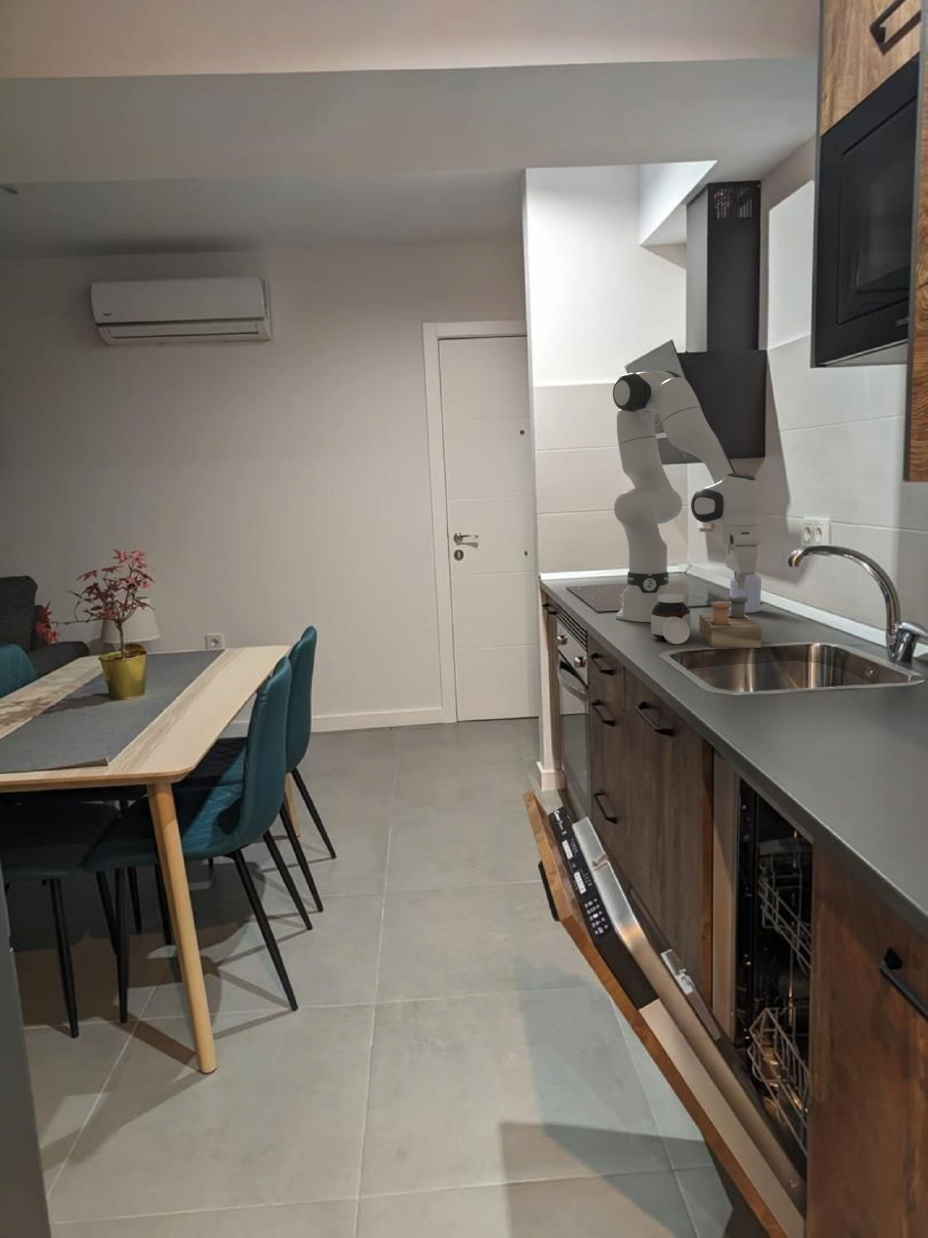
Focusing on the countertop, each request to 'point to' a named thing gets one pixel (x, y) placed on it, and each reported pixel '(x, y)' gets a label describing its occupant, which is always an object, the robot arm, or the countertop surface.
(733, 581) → the soap bottle
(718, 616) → the terracotta plug
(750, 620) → the oak block
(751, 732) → the countertop surface
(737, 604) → the grey plug
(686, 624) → the spread jar
